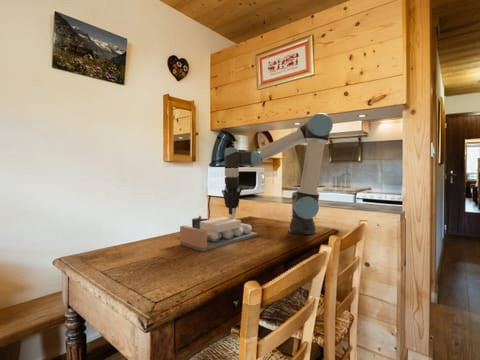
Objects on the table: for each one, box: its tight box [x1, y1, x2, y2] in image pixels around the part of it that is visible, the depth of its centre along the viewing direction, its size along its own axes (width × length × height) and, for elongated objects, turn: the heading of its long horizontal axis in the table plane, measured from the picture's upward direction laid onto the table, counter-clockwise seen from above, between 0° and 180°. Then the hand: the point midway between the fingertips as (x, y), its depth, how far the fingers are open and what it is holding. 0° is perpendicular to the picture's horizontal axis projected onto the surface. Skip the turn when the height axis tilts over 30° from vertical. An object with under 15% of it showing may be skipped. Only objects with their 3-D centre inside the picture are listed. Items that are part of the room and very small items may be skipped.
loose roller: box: [200, 228, 221, 243], centre depth 134 cm, size 13×5×5 cm, turn 45°
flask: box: [191, 215, 209, 229], centre depth 153 cm, size 9×3×11 cm, turn 87°
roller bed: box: [179, 222, 259, 252], centre depth 140 cm, size 18×38×9 cm, turn 135°
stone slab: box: [200, 216, 242, 233], centre depth 140 cm, size 14×16×4 cm
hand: (232, 220), depth 146 cm, fingers closed
